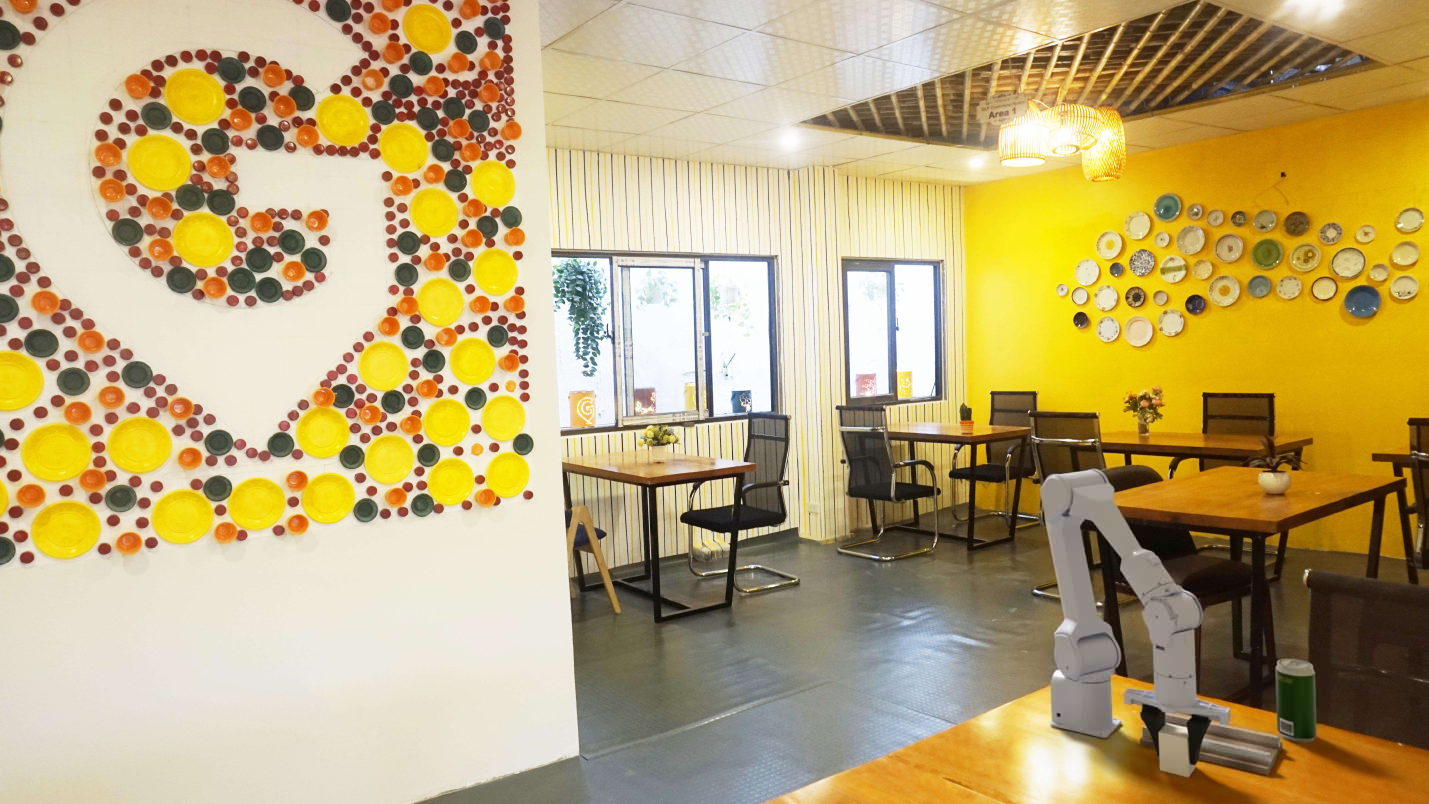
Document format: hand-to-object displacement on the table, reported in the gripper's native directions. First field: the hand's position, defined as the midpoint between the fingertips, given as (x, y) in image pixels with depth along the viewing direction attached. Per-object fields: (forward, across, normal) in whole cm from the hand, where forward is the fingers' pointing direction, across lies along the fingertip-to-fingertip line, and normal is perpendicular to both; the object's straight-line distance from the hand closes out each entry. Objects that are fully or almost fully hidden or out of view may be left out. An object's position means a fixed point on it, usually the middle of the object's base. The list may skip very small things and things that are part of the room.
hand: (1177, 758), depth 137 cm
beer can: (+2, +12, +22) cm, 25 cm away
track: (+2, +2, +10) cm, 11 cm away
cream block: (+2, 0, 0) cm, 2 cm away
